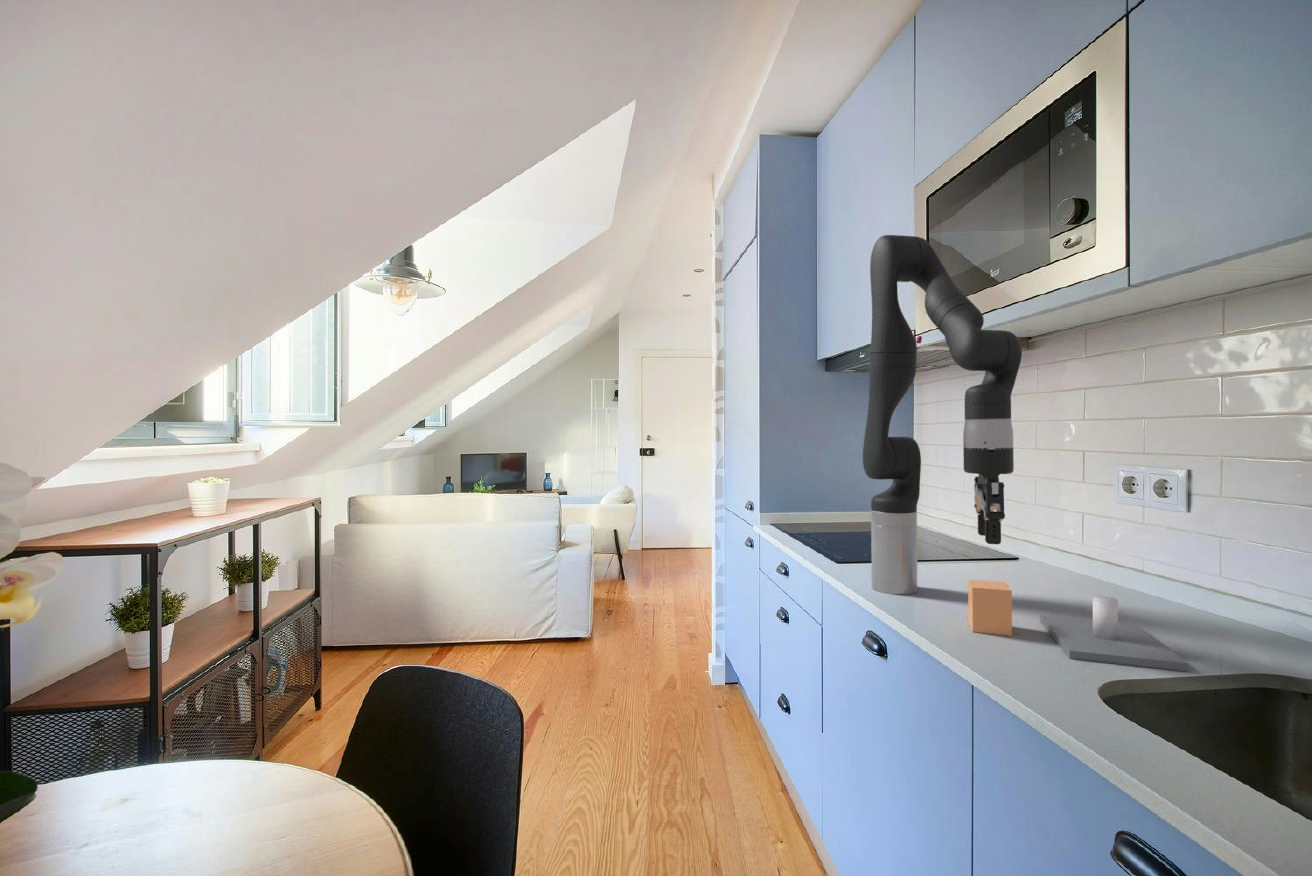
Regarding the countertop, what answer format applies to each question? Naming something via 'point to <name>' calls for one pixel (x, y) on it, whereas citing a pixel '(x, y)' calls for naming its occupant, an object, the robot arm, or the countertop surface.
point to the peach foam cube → (990, 607)
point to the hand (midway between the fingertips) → (988, 539)
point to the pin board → (1110, 639)
